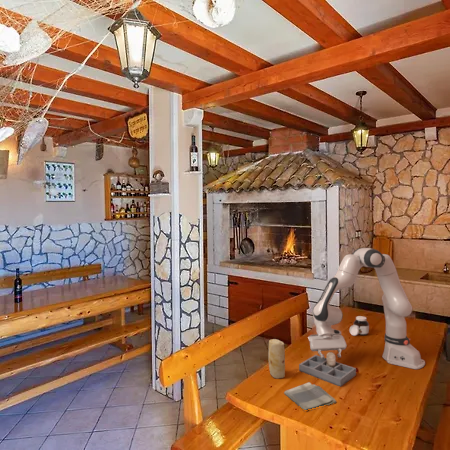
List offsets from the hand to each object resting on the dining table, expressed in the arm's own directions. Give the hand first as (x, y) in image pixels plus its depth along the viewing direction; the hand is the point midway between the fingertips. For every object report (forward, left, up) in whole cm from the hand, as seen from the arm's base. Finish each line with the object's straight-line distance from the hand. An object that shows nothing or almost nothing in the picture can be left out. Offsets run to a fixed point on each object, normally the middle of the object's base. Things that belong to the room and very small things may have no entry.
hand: (331, 357), depth 200 cm
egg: (0, 0, -7) cm, 7 cm away
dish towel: (-7, +32, -8) cm, 33 cm away
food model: (+18, +26, -8) cm, 33 cm away
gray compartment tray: (0, +4, -8) cm, 8 cm away
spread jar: (+13, -62, -8) cm, 64 cm away
